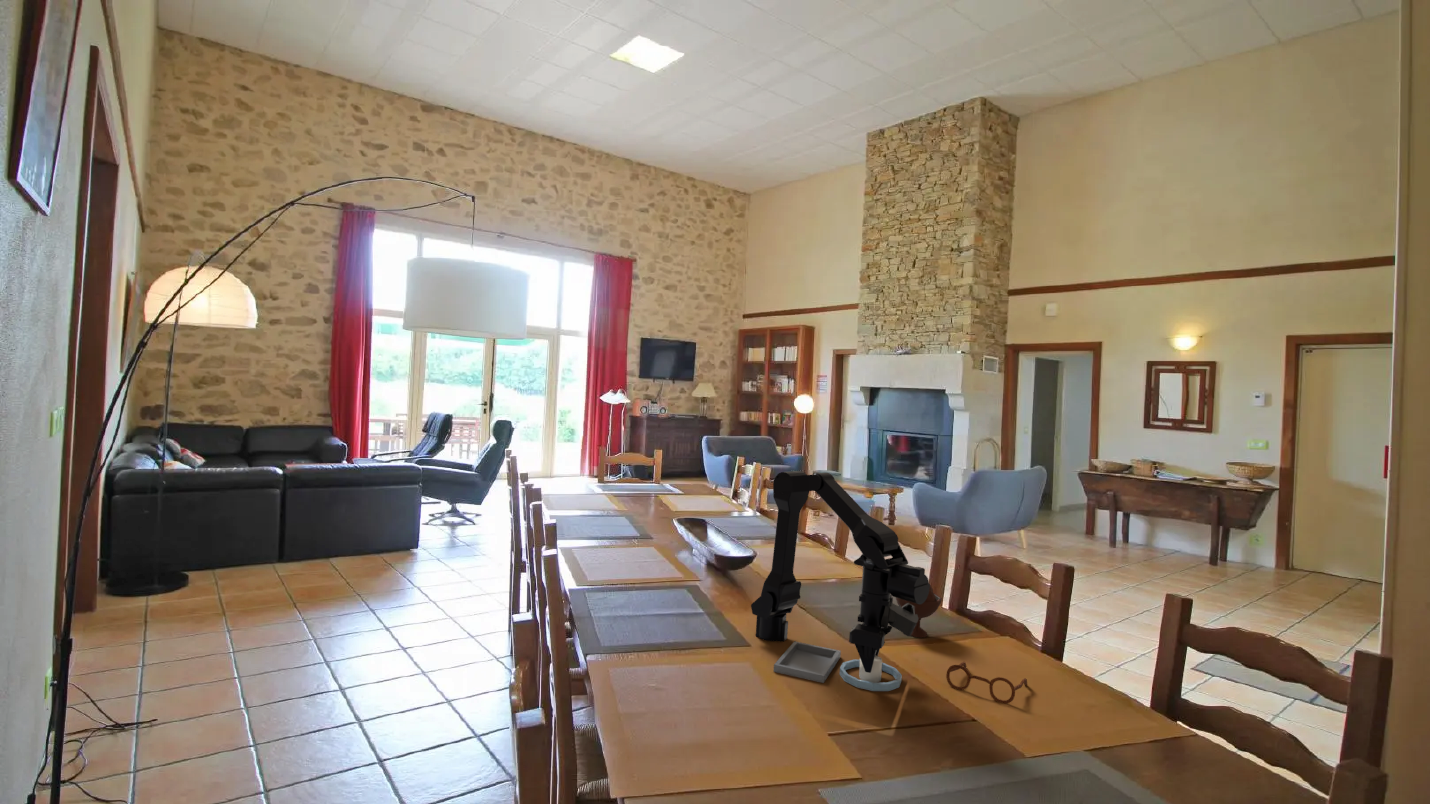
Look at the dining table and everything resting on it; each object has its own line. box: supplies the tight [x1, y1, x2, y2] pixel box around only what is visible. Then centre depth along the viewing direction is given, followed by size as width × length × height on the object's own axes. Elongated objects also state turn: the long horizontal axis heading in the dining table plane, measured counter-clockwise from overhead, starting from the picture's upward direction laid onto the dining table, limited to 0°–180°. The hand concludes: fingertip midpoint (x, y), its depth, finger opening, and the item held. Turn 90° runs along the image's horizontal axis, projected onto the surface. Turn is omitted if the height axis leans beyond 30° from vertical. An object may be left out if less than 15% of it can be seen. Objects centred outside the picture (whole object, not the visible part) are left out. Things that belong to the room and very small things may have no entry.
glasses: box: [945, 661, 1028, 704], centre depth 141 cm, size 13×13×5 cm
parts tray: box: [773, 641, 842, 684], centre depth 144 cm, size 10×15×2 cm
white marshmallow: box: [858, 655, 883, 683], centre depth 139 cm, size 4×4×4 cm
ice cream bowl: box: [895, 584, 942, 638], centre depth 169 cm, size 11×11×15 cm
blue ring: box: [839, 658, 903, 692], centre depth 139 cm, size 12×12×2 cm
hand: (870, 666), depth 139 cm, fingers open, 6 cm apart
